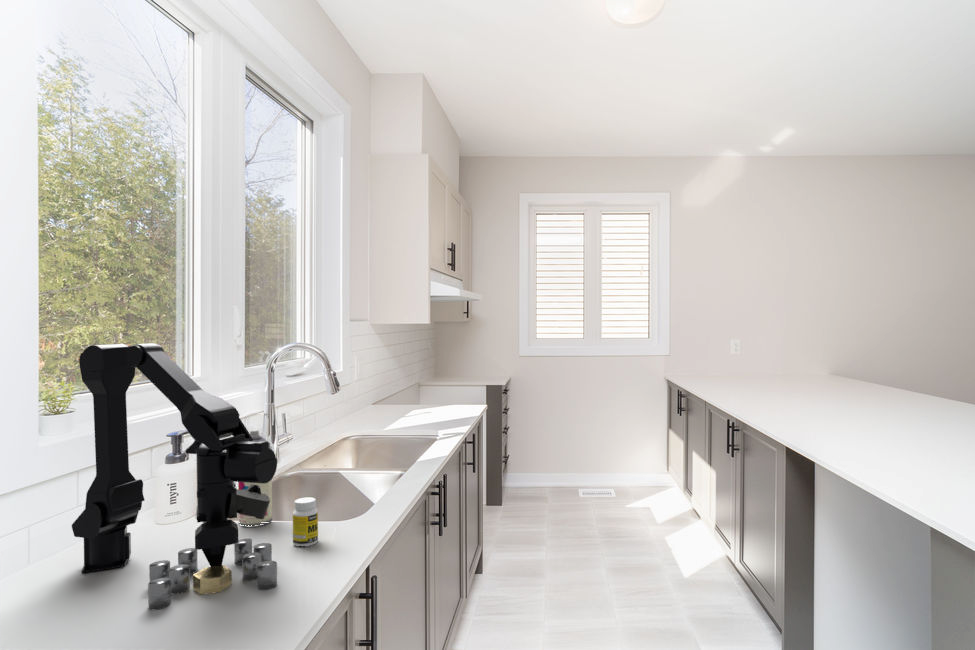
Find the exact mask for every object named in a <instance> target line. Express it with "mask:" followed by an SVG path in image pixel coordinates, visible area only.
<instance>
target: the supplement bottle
mask: <svg viewBox="0 0 975 650" xmlns="http://www.w3.org/2000/svg"><path fill="white" fill-rule="evenodd" d="M316 506H317V499H316V498H315V497H309V496H308V497H300V498H297V499H295V500H294V509H295V510H294V511H292V544H293V545H294V546H295V547H299V546H302V547H303V546H305V547H310V545H311V546H314V545H315V544H316V543H318V542H319V514H318V513H319V512H318V511H319V510H318V508H317V507H316Z"/></svg>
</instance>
